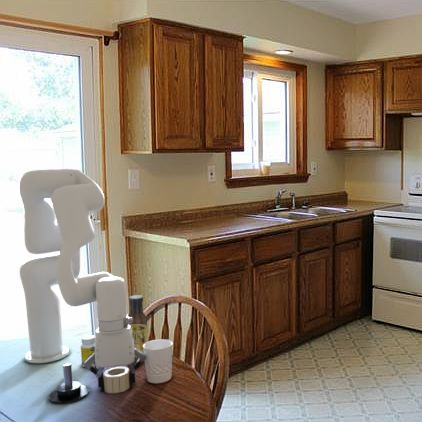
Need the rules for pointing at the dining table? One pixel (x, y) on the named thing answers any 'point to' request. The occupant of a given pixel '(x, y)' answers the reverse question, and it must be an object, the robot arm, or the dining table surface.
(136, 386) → the dining table surface
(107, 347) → the robot arm
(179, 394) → the dining table surface
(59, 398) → the tape stand
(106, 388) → the tape roll
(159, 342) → the white cup
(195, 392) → the dining table surface
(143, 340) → the sauce bottle
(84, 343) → the supplement bottle
